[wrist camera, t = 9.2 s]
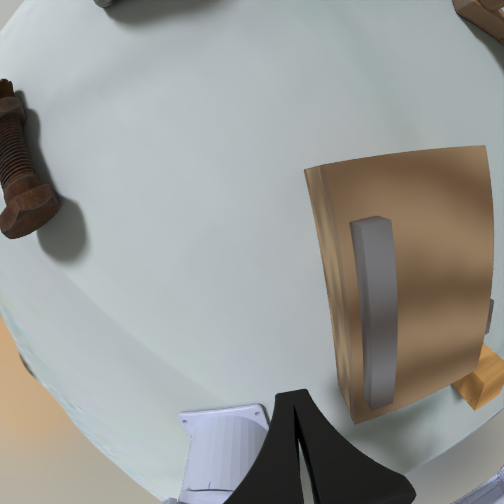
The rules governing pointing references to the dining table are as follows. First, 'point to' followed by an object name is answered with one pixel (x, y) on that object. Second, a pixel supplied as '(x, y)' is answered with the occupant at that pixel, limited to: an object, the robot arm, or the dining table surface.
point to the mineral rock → (104, 2)
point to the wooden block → (484, 15)
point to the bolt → (20, 173)
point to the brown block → (482, 380)
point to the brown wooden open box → (330, 277)
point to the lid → (412, 270)
